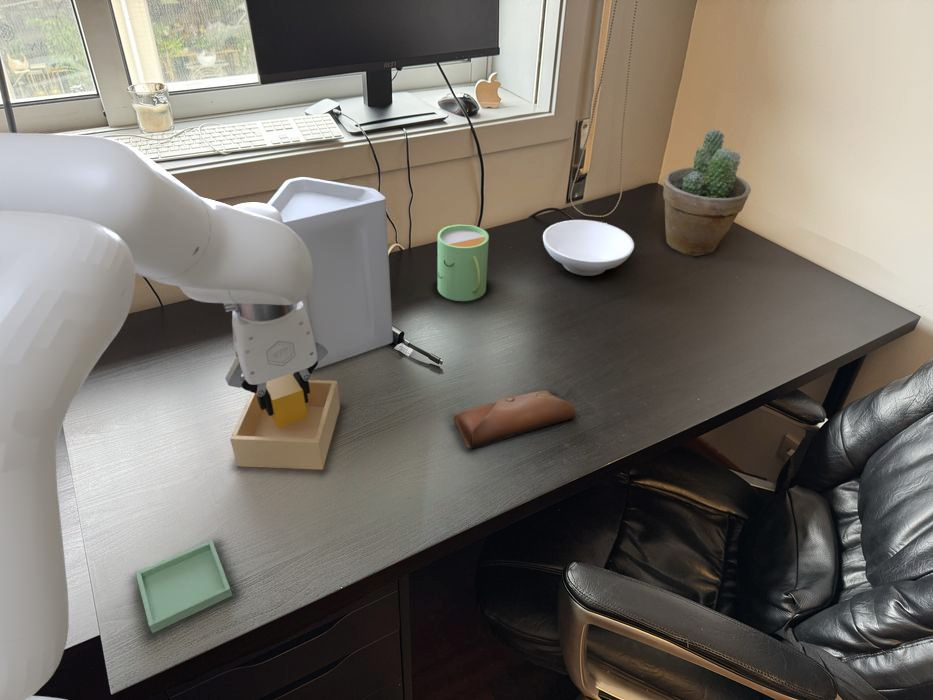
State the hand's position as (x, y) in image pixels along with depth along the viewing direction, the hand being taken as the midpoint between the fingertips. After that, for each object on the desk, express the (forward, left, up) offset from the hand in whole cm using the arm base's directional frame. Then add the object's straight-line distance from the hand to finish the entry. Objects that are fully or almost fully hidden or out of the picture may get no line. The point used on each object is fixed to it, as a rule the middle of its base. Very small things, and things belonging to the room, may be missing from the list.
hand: (285, 402), depth 93 cm
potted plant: (+99, -30, -7) cm, 104 cm away
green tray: (-26, -9, -7) cm, 28 cm away
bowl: (+74, -14, -7) cm, 76 cm away
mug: (+50, +2, -7) cm, 50 cm away
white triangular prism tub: (+22, +13, -7) cm, 26 cm away
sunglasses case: (+22, -26, -7) cm, 35 cm away
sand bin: (0, 0, -7) cm, 7 cm away
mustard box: (0, 0, -2) cm, 2 cm away
